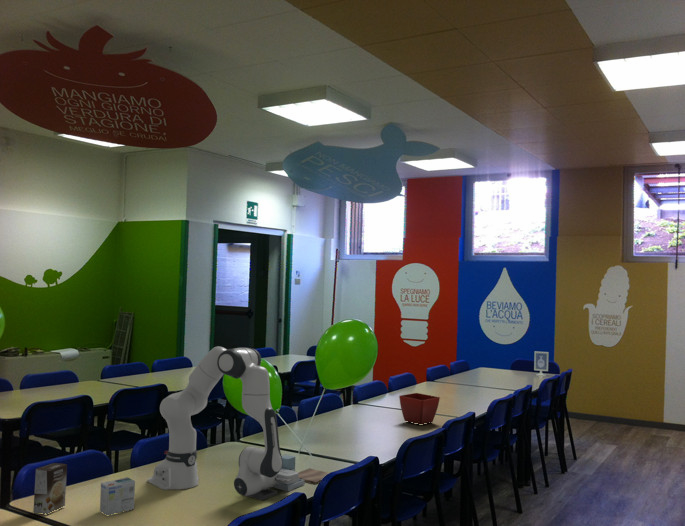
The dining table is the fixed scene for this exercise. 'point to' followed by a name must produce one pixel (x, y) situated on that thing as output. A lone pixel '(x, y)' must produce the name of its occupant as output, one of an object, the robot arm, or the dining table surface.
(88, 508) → the dining table surface
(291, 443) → the dining table surface
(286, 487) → the frame
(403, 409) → the plant pot
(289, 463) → the blue-grey block
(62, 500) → the coffee box
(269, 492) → the tray
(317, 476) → the walnut board
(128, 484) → the light bulb box
